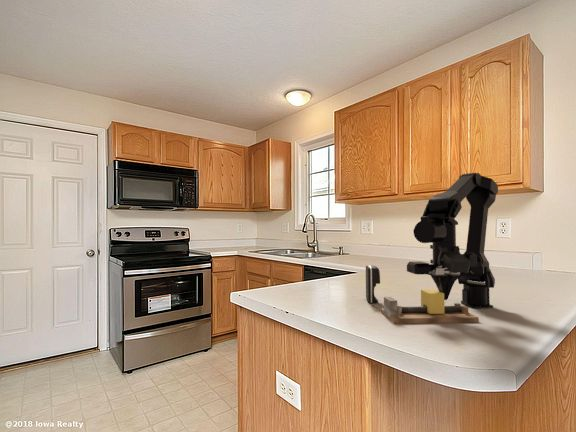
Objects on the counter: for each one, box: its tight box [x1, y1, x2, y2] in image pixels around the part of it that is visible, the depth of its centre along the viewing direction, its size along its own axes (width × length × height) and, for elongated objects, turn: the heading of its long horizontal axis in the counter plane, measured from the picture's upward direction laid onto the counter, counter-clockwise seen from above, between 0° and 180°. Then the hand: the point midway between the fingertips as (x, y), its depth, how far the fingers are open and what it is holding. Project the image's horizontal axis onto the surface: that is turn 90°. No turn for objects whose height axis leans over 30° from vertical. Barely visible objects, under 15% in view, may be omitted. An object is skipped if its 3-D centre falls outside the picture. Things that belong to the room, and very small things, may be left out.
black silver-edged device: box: [365, 264, 381, 304], centre depth 103 cm, size 7×4×11 cm, turn 174°
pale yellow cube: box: [420, 289, 445, 314], centre depth 86 cm, size 4×5×5 cm
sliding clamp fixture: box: [380, 296, 480, 324], centre depth 85 cm, size 22×10×5 cm, turn 93°
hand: (444, 299), depth 86 cm, fingers closed
